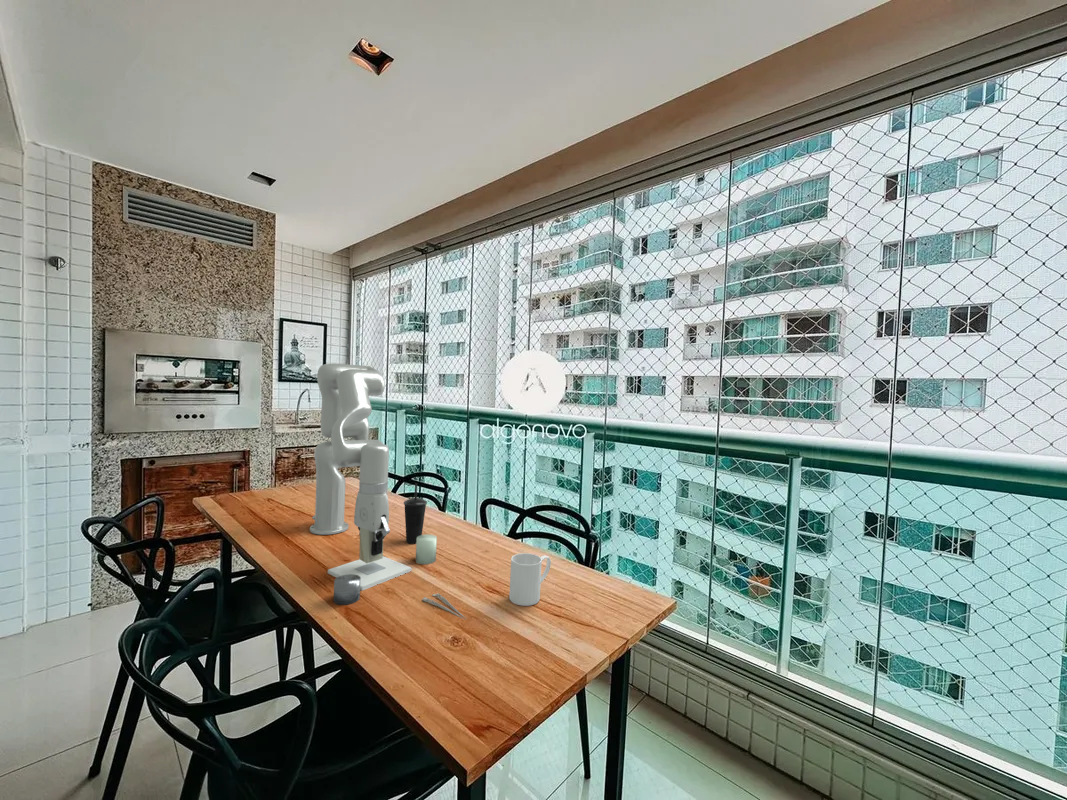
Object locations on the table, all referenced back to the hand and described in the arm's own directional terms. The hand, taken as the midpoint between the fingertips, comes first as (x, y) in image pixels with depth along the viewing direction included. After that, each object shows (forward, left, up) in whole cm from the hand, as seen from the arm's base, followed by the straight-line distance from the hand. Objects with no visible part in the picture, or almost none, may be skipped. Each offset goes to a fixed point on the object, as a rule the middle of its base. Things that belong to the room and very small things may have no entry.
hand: (371, 551), depth 126 cm
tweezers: (+32, 0, -7) cm, 33 cm away
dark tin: (+9, -13, -6) cm, 17 cm away
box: (0, 0, -3) cm, 3 cm away
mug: (+43, +18, -6) cm, 47 cm away
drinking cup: (-10, +24, -6) cm, 27 cm away
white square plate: (0, 0, -6) cm, 6 cm away
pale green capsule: (+5, +16, -6) cm, 18 cm away
